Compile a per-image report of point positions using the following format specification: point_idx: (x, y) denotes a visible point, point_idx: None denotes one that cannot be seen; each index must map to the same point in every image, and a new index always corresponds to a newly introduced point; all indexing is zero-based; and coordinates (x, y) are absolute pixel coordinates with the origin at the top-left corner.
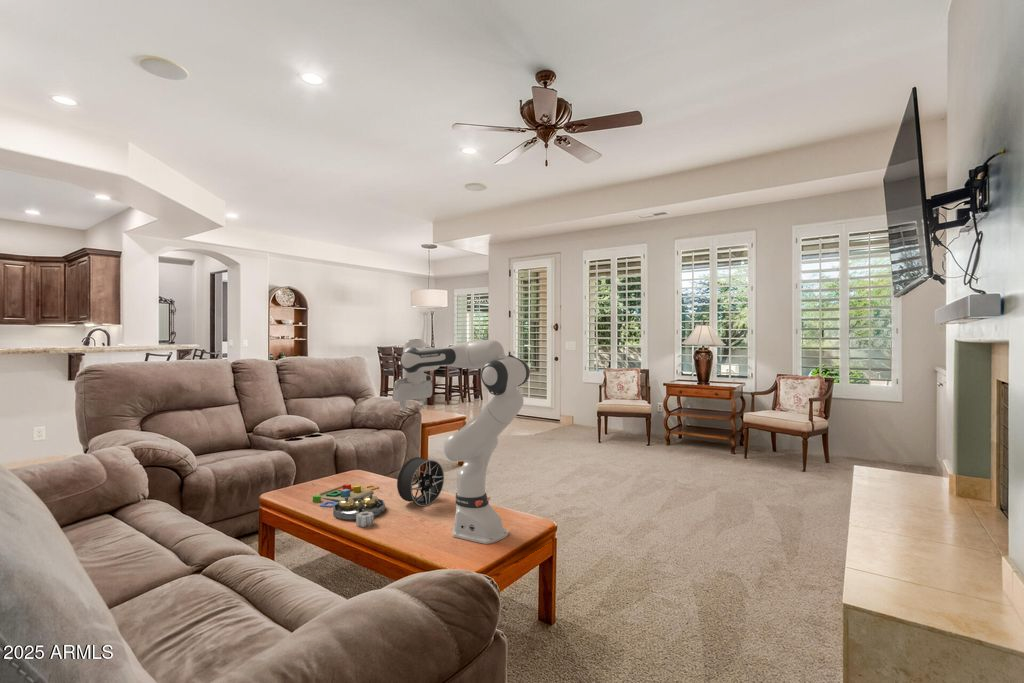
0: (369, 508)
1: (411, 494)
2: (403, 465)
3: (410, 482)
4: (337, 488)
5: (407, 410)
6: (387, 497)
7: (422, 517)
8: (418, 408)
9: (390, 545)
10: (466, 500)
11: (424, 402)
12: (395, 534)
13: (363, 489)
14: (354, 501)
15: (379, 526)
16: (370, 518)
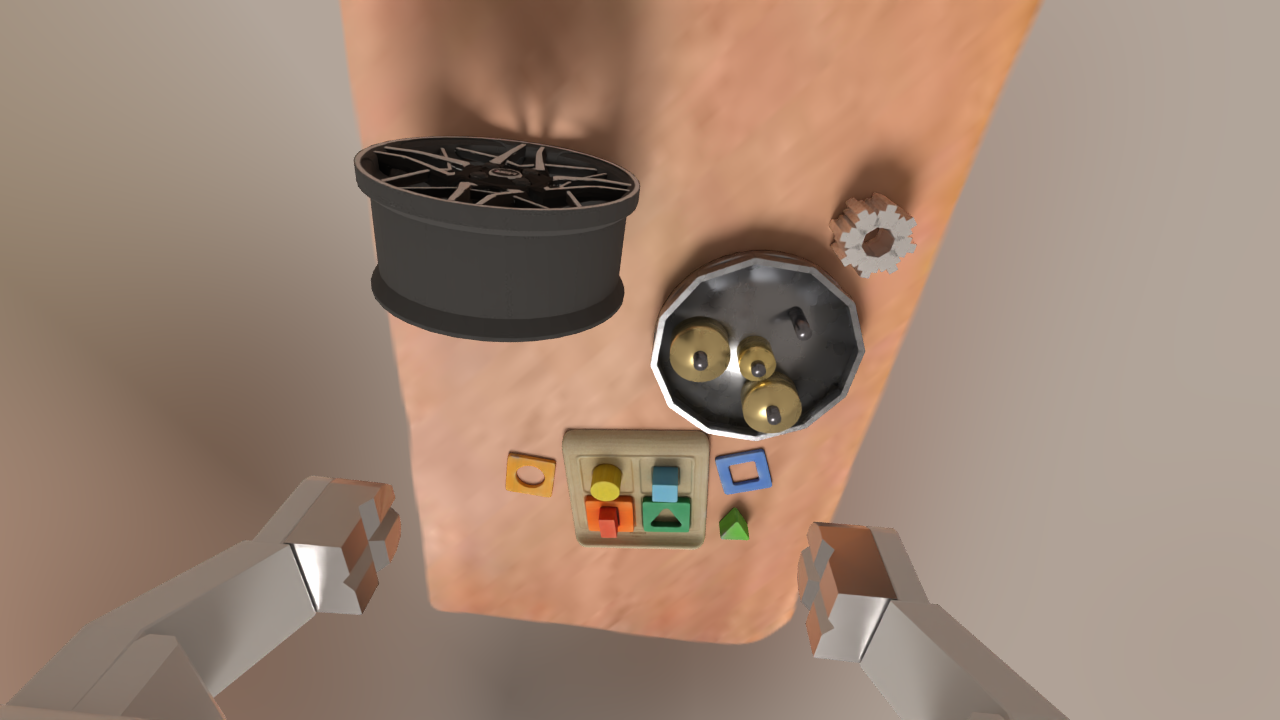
0: (733, 319)
1: (636, 178)
2: (566, 335)
3: (632, 203)
4: (620, 542)
5: (819, 526)
6: (568, 361)
7: (681, 46)
8: (399, 532)
9: None
10: None
11: (172, 579)
12: (928, 8)
13: (575, 474)
14: (699, 415)
15: (864, 155)
16: (886, 201)
